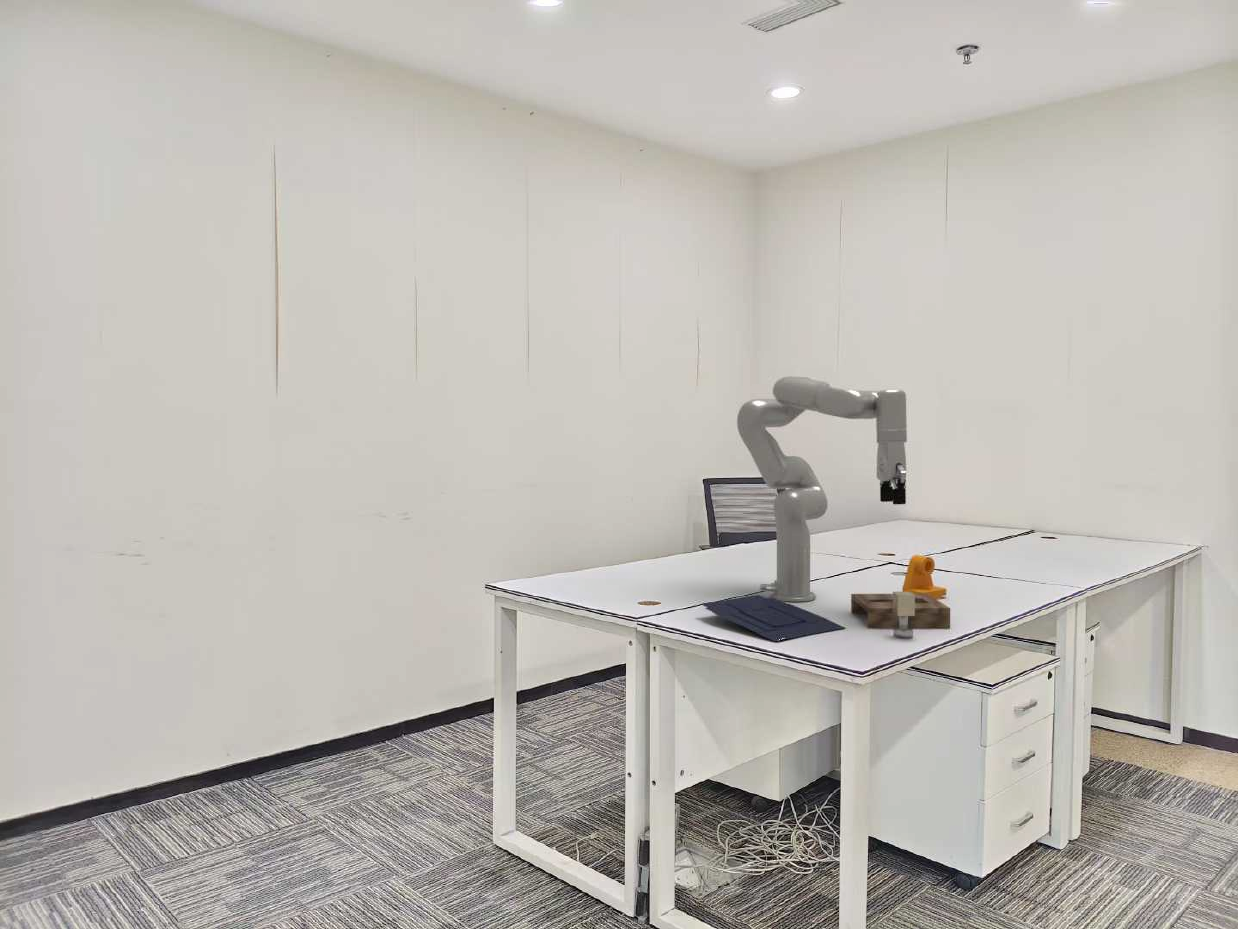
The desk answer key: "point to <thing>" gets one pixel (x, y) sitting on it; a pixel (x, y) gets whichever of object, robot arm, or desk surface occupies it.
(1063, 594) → the desk surface
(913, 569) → the bracket
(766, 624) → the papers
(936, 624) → the keyhole board
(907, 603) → the peg
